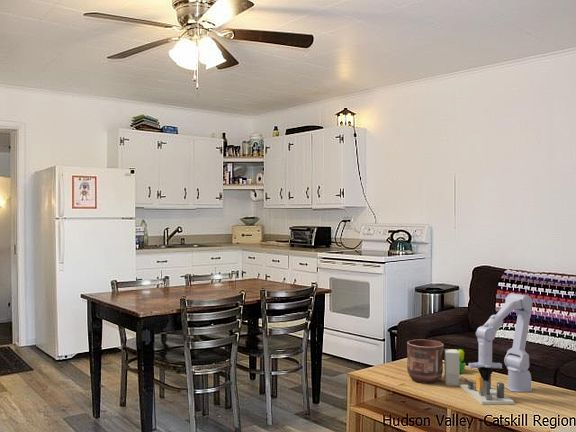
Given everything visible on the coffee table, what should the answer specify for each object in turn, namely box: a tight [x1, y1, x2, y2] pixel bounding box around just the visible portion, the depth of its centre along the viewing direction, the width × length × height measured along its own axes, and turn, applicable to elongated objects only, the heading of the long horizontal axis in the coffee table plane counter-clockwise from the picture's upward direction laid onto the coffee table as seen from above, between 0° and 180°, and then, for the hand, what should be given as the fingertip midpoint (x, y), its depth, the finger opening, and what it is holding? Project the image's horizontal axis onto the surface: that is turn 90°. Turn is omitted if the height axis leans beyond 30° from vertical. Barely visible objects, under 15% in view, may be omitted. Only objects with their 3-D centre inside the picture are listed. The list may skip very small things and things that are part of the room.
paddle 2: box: [483, 381, 490, 397], centre depth 233 cm, size 1×4×7 cm, turn 3°
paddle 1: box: [460, 375, 475, 388], centre depth 247 cm, size 1×4×7 cm
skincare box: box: [443, 348, 461, 387], centre depth 258 cm, size 8×7×16 cm
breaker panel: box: [459, 374, 515, 406], centre depth 241 cm, size 14×24×7 cm, turn 4°
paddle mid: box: [475, 375, 483, 392], centre depth 240 cm, size 1×4×7 cm, turn 4°
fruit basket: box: [457, 348, 467, 374], centre depth 280 cm, size 11×9×11 cm
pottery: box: [406, 338, 445, 384], centre depth 263 cm, size 18×18×18 cm
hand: (485, 384), depth 240 cm, fingers closed
